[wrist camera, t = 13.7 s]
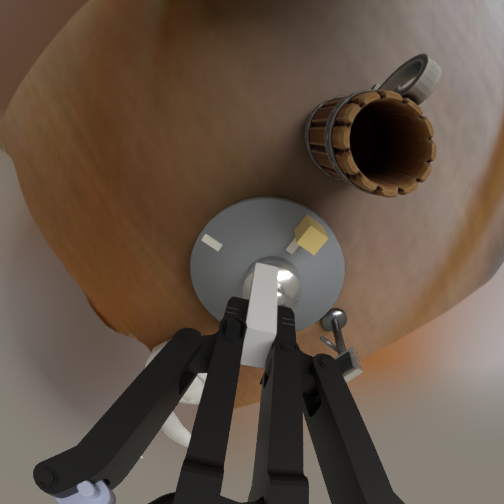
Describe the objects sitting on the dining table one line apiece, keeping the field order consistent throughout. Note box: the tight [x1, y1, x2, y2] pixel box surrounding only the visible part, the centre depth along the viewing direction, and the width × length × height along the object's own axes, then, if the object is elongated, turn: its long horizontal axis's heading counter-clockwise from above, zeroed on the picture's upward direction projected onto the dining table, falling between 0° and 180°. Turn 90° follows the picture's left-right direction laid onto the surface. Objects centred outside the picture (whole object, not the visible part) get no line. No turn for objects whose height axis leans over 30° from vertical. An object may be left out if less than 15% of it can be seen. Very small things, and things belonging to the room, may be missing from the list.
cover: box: [242, 256, 301, 310], centre depth 33 cm, size 7×7×5 cm
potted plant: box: [140, 334, 207, 458], centre depth 35 cm, size 13×12×25 cm
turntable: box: [190, 196, 345, 332], centre depth 34 cm, size 20×20×6 cm
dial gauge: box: [320, 308, 363, 382], centre depth 35 cm, size 7×4×12 cm, turn 49°
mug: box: [304, 54, 441, 197], centre depth 22 cm, size 16×11×15 cm
